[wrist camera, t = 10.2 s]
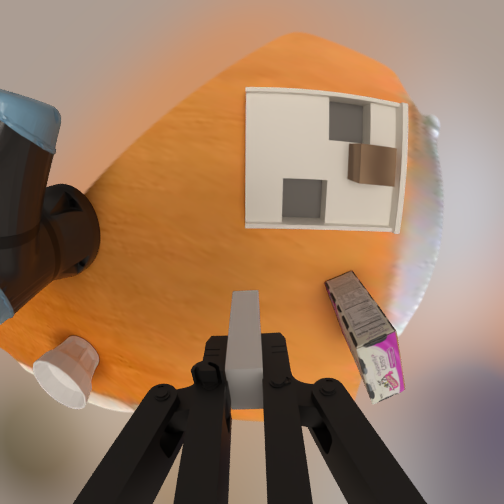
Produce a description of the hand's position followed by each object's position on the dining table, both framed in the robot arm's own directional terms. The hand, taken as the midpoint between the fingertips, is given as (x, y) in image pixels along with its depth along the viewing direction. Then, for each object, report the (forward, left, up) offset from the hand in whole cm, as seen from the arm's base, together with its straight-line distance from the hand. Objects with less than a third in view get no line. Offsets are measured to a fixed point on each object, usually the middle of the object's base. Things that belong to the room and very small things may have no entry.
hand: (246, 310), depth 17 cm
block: (+14, +8, -20) cm, 26 cm away
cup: (-35, -27, -23) cm, 50 cm away
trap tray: (+9, +8, -23) cm, 26 cm away
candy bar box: (+15, -13, -23) cm, 31 cm away
